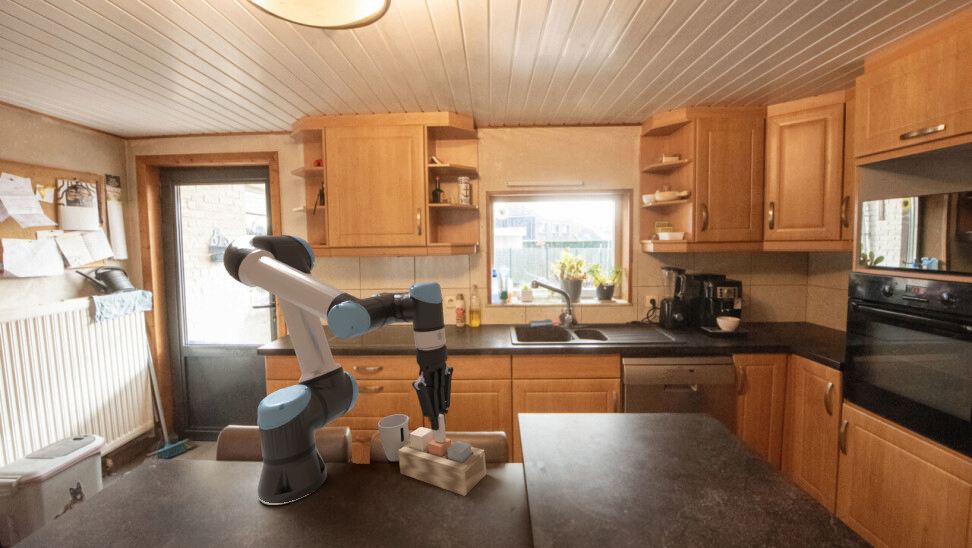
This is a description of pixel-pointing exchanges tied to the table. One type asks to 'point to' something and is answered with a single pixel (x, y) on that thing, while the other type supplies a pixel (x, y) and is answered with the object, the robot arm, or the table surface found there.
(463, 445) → the key blue
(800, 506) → the table surface
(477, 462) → the wooden box
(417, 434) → the key white
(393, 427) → the cup
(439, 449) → the key terracotta
